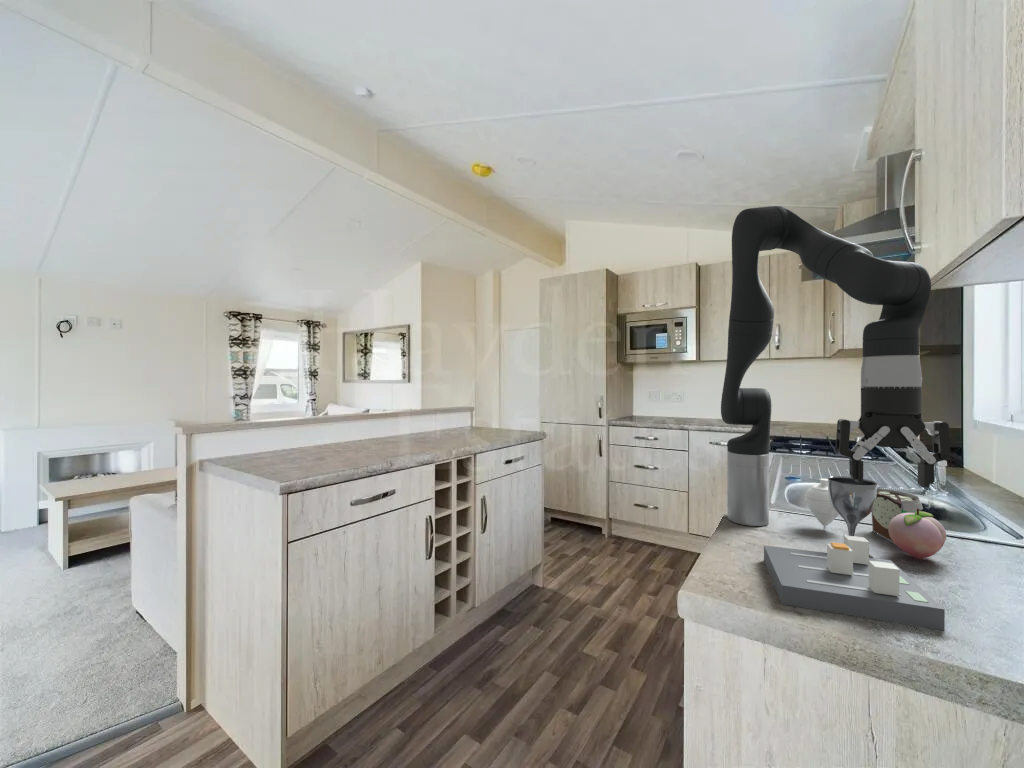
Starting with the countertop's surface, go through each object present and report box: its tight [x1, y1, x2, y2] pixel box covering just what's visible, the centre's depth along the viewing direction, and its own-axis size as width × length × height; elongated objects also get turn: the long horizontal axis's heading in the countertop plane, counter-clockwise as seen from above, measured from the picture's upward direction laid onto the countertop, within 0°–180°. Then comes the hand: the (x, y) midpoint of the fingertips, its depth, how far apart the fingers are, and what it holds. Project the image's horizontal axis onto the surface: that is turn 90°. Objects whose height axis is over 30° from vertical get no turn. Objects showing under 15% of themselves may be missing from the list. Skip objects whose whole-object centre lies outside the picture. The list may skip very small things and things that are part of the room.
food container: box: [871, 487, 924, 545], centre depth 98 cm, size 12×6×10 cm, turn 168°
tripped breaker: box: [826, 541, 853, 575], centre depth 75 cm, size 2×3×4 cm
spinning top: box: [804, 478, 840, 530], centre depth 104 cm, size 8×8×12 cm
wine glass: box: [827, 475, 878, 559], centre depth 90 cm, size 8×8×15 cm
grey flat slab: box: [763, 545, 946, 631], centre depth 75 cm, size 18×20×3 cm
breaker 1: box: [843, 534, 870, 565], centre depth 79 cm, size 2×3×4 cm
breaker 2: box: [869, 561, 900, 596], centre depth 68 cm, size 2×3×4 cm
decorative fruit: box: [888, 509, 947, 560], centre depth 88 cm, size 9×8×10 cm
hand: (890, 484), depth 72 cm, fingers open, 8 cm apart
